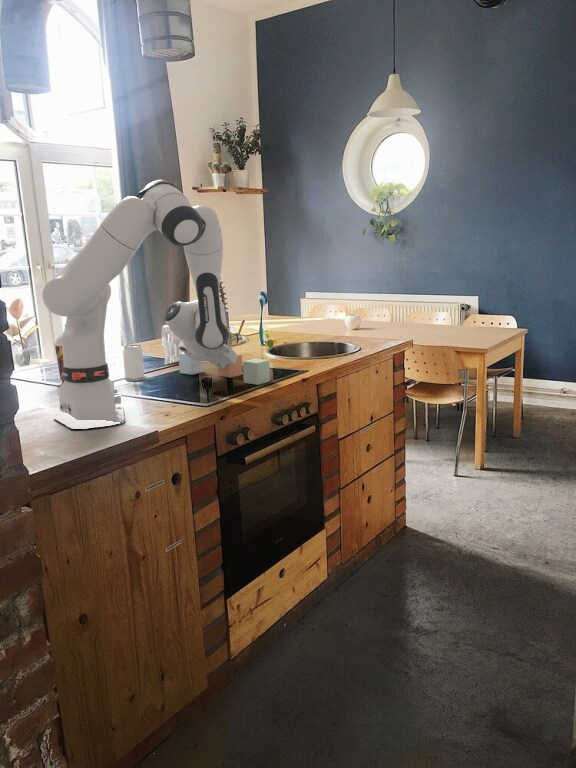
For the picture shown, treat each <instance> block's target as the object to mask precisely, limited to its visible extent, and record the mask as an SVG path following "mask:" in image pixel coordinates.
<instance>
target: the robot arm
mask: <svg viewBox="0 0 576 768" xmlns="http://www.w3.org/2000/svg"><path fill="white" fill-rule="evenodd" d="M157 230H158V231H159V233H161V234H162V236H163V237H164V239H166V241H168V242H169V243H171V244H173V245H175V246H179V247H183V251H184V256H185V260H186V263H187V268H188V270H189V273H190V275H191V279H192V282H193V285H194V288H195V292H196V296H197V297H196V298H197V299H196V300H192V301H187V302H185V301H176V302H173V303H172V304H171V305H170V306H168V308H167V309H166V311H165V315H164V323H165V325H167V326H168V327H169V329H170V330H171V331H172V332H173V333H174V335H175V336H176V337H177V338H179V339H180V343H179V345H178V348H179V351H182V352H184V353H185V354H186V355H187V356H188V357H189V358H191V359H192V360H198V361H204V362H208V363H210V364H211V365H214V366H215V367H216V368H223V369H225V367H226V364H229V365H234V364H235V362H236V360H237V358H238V355H237V354H238V353H237V352H236V351H234V350H233V349H232V348H231V347H230V346H229V345H227V342H228V340H229V338H230V334H229V328H228V324H227V318H226V317H227V316H226V315H227V314H226V309H225V304H224V302H223V300H222V299H220V284H221V275H222V266H223V256H224V255H223V254H224V244H223V242H224V241H223V235H222V229H221V224H220V220H219V218H218V214H217V213H216V211H215V210H214V209H213V208H212V207H209V206H207V205H195V206H193V205H192V204H191V202H190V201H189V199H188V198H187V197H186V195H184V194H183V193H182V191H180V190H179V189H178V188H177V186H175V185H174V184H173V183H171V182H169V181H168V180H164V179H157V180H153V181H152V182H149V183H148V184H146V186H144V187H143V189H142V190H140V191H139V192H138V193H137V196H133V195H132V196H131V195H130V196H126V197H124V198H122V199H121V201H119V202H118V203H117V204H116V205H115V206H114V207H113V208H112V210H111V211H110V212H109V213H108V214H107V215H106V217H105V218H104V219H103V220H102V221H101V222H100V224H99V226H98V228H97V229H96V231H94V233H93V234H92V235H91V237H90V238H89V240H88V242H87V243H86V244H85V245H84V247H82V248H81V250H80V251H79V252H78V253H77V254H76V255H75V256H74V257H73V258H72V259H71V260H70V261H68V262H67V264H66V265H65V266H64V267H63V268H62V269H61V270H60V271H59V272H58V274H56V275H55V276H54V277H53V278H52V279H51V280H49V281H48V282H47V283H46V284H45V285H44V287H43V290H42V300H43V303H44V304H43V305H45V307H46V308H47V310H48V311H49V312H50V313H52V314H54V315H56V316H61V317H66V320H65V321H66V322H65V324H66V326H65V325H64V329H63V332H62V333H61V334H62V338H61V342H62V352H63V363H64V366H63V367H62V370H63V371H62V374H63V379H64V383H62V384H61V386H59V387H58V403H59V412H60V411H62V412H65V413H68V414H69V415H71V416H72V417H74V418H75V419H77V420H106V421H113V422H120V423H122V424H125V423H126V417H125V408H124V406H120V404H121V403H122V397H121V395H119V394H118V388H115V384H114V382H113V380H111V378H110V373H109V370H110V369H109V366H108V363H107V360H106V347H105V346H106V345H105V327H106V326H105V325H106V318H107V308H108V302H109V300H110V298H111V295H112V288H111V284H110V283H111V282H112V281H113V280H114V279H115V278H116V277H117V276H119V275H120V274H121V273H122V272H123V271H124V269H125V268H126V266H127V265H128V264H129V262H130V261H131V260H132V258H133V257H134V255H135V254H136V252H137V251H138V250H139V248H140V247H141V246H142V244H143V243H144V241H145V239H147V238H146V237H148V236H149V235H150V234H152V233H153V232H155V231H157ZM116 394H118V395H116ZM124 422H125V423H124Z"/></svg>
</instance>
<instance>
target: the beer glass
mask: <svg viewBox="0 0 576 768" xmlns="http://www.w3.org/2000/svg"><path fill="white" fill-rule="evenodd" d="M180 341H181V340H180V339H179V338H177V337H176V336H175V335H174V333H173V332H172V331H171V330H170V329H169V327H168V326H167V324H162V325H161V342H162V347H163V351H164V365H169V364H172V363H173V364H174V363H179V353H180V349H179V348H178V345H179V343H180Z"/></svg>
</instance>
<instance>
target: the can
mask: <svg viewBox="0 0 576 768" xmlns="http://www.w3.org/2000/svg"><path fill="white" fill-rule="evenodd" d="M122 353H123V355H122V357H123V368H124V369H123V370H124V378H125V381H126V382H127V383H138V382H140V380H134V379H141V378H145V367H144V353H143V349H142V345H140V344H128V345H123V350H122Z"/></svg>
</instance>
